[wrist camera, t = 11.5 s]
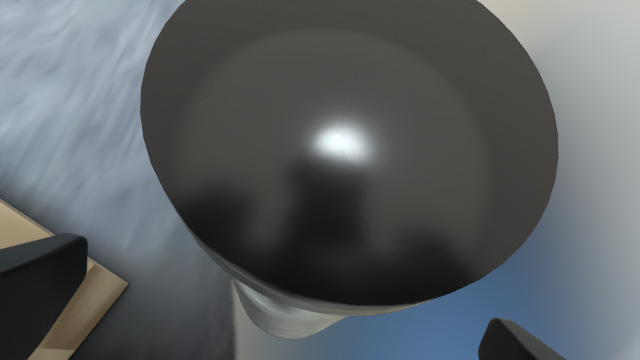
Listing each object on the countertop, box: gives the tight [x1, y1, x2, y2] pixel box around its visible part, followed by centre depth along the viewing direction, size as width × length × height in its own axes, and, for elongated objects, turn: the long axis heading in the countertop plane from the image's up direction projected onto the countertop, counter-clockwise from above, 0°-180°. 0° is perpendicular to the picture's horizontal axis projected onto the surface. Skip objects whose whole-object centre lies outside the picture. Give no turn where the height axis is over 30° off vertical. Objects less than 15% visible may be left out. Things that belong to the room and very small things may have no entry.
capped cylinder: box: [140, 0, 558, 339], centre depth 11 cm, size 5×5×13 cm
